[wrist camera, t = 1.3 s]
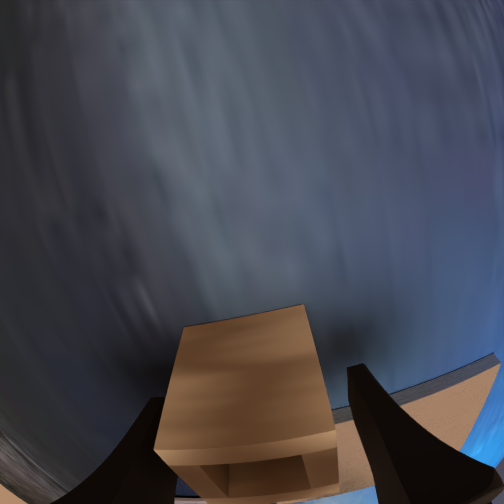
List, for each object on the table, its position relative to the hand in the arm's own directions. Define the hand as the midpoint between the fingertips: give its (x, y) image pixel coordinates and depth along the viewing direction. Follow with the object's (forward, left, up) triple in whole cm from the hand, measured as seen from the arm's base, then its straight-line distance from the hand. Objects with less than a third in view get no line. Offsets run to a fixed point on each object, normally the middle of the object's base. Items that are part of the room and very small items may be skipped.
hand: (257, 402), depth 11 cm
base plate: (+6, -11, -3) cm, 13 cm away
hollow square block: (0, 0, -3) cm, 3 cm away
